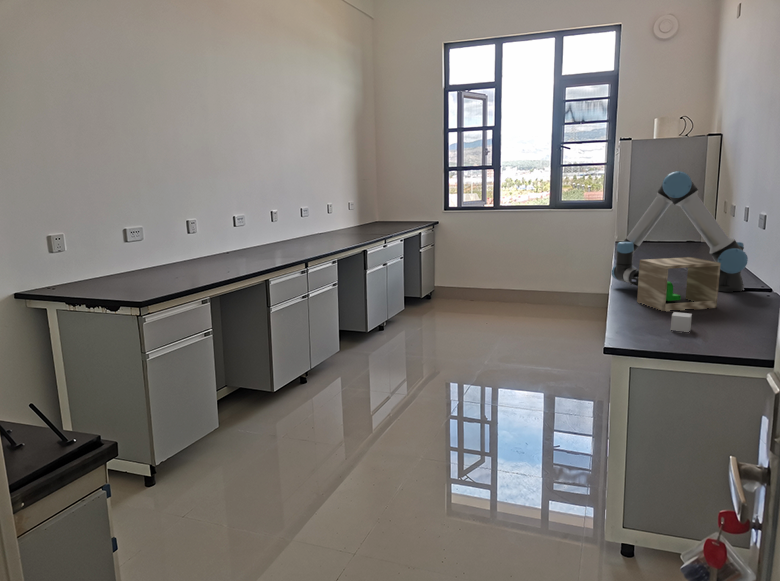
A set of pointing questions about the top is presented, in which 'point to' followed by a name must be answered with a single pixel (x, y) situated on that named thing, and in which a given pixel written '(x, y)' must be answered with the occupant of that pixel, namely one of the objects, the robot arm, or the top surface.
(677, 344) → the top surface
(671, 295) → the mechanical part
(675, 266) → the cubby box
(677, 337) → the top surface
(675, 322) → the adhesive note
